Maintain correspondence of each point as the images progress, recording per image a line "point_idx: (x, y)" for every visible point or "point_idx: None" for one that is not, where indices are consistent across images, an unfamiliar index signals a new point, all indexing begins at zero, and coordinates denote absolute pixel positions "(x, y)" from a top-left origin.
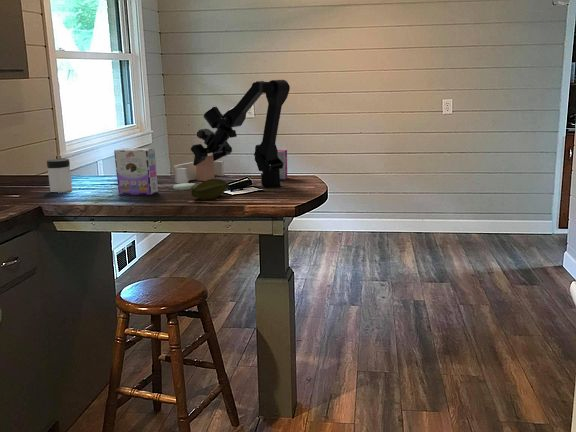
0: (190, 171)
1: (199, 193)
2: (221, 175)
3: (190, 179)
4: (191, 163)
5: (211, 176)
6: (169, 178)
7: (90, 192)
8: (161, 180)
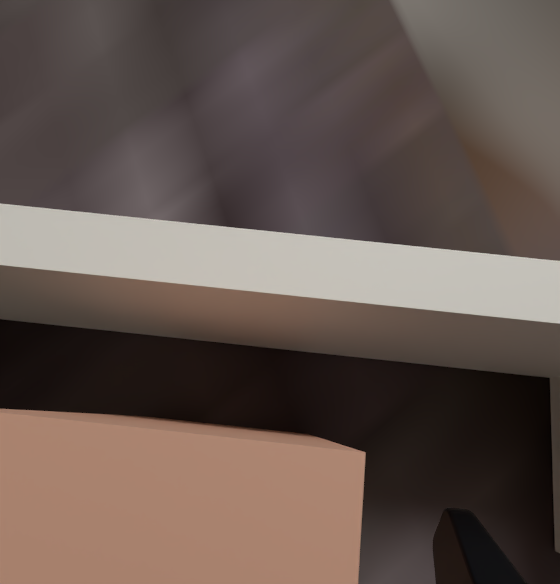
0: (93, 307)
1: None
2: (557, 534)
3: (119, 329)
4: (77, 278)
5: None
6: (167, 22)
7: None
8: (34, 24)
